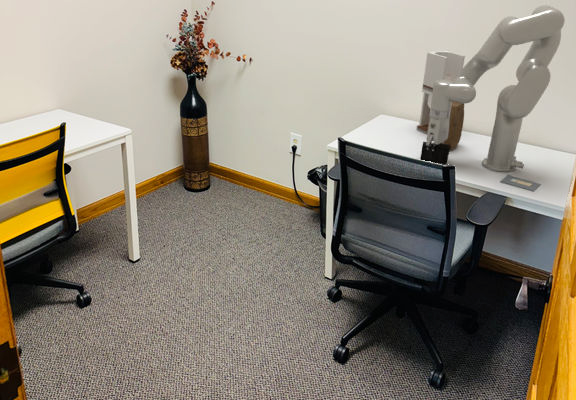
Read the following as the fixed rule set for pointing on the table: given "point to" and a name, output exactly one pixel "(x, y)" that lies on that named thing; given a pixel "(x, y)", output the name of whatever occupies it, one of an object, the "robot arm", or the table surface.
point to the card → (520, 183)
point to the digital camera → (436, 153)
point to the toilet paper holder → (437, 68)
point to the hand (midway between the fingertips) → (434, 156)
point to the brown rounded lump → (455, 124)
